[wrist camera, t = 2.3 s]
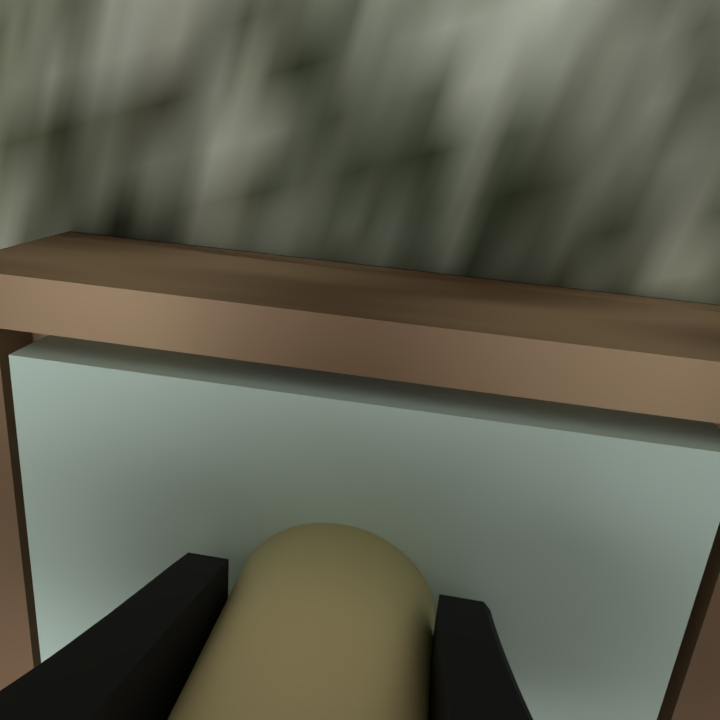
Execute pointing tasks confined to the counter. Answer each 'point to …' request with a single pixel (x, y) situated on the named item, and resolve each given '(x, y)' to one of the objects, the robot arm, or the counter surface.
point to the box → (359, 364)
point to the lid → (363, 527)
